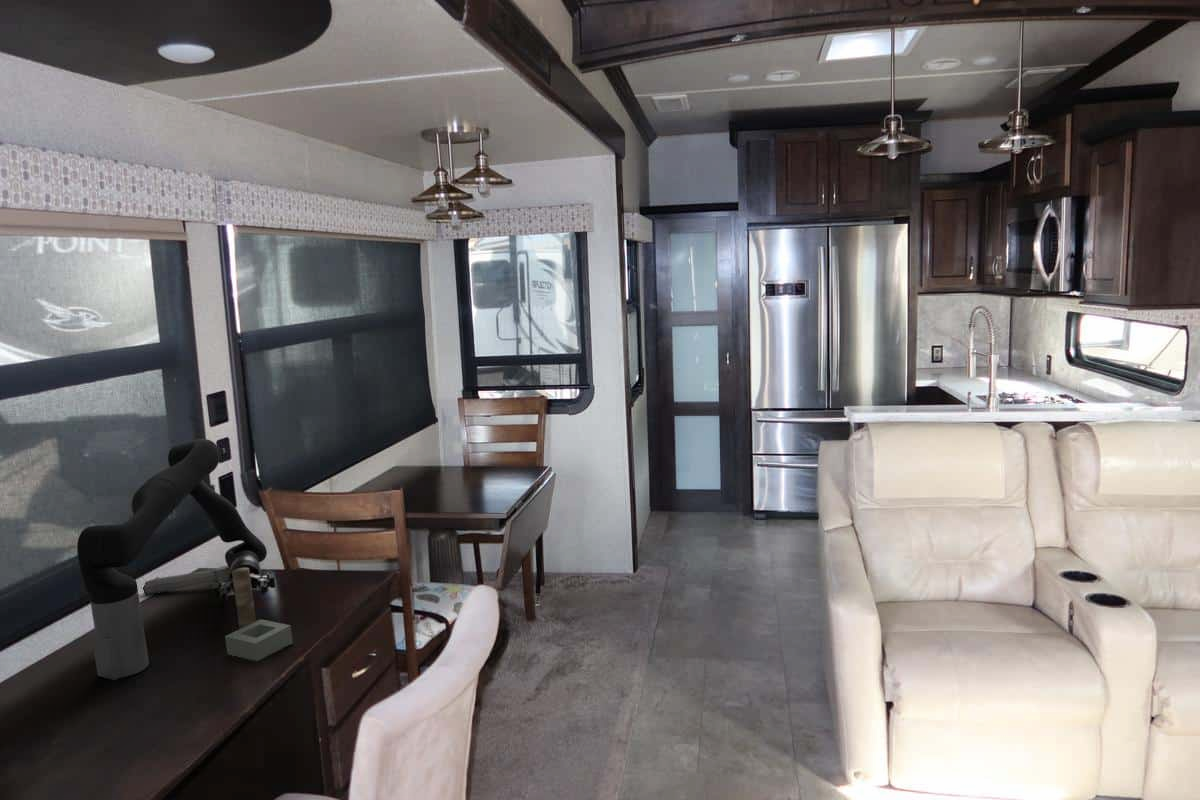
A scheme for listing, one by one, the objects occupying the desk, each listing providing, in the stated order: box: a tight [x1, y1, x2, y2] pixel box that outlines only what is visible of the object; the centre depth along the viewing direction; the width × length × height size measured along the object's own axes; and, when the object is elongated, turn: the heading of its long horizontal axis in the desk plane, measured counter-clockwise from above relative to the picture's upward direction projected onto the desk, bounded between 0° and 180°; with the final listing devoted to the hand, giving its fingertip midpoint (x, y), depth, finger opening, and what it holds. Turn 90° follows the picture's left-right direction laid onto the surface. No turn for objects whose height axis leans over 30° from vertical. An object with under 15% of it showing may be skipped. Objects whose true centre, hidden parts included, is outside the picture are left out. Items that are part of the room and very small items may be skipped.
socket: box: [224, 619, 294, 661], centre depth 197 cm, size 10×10×4 cm
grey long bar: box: [143, 564, 230, 596], centre depth 238 cm, size 5×7×25 cm
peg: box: [232, 568, 257, 630], centre depth 205 cm, size 4×4×16 cm
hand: (244, 594), depth 208 cm, fingers open, 8 cm apart
